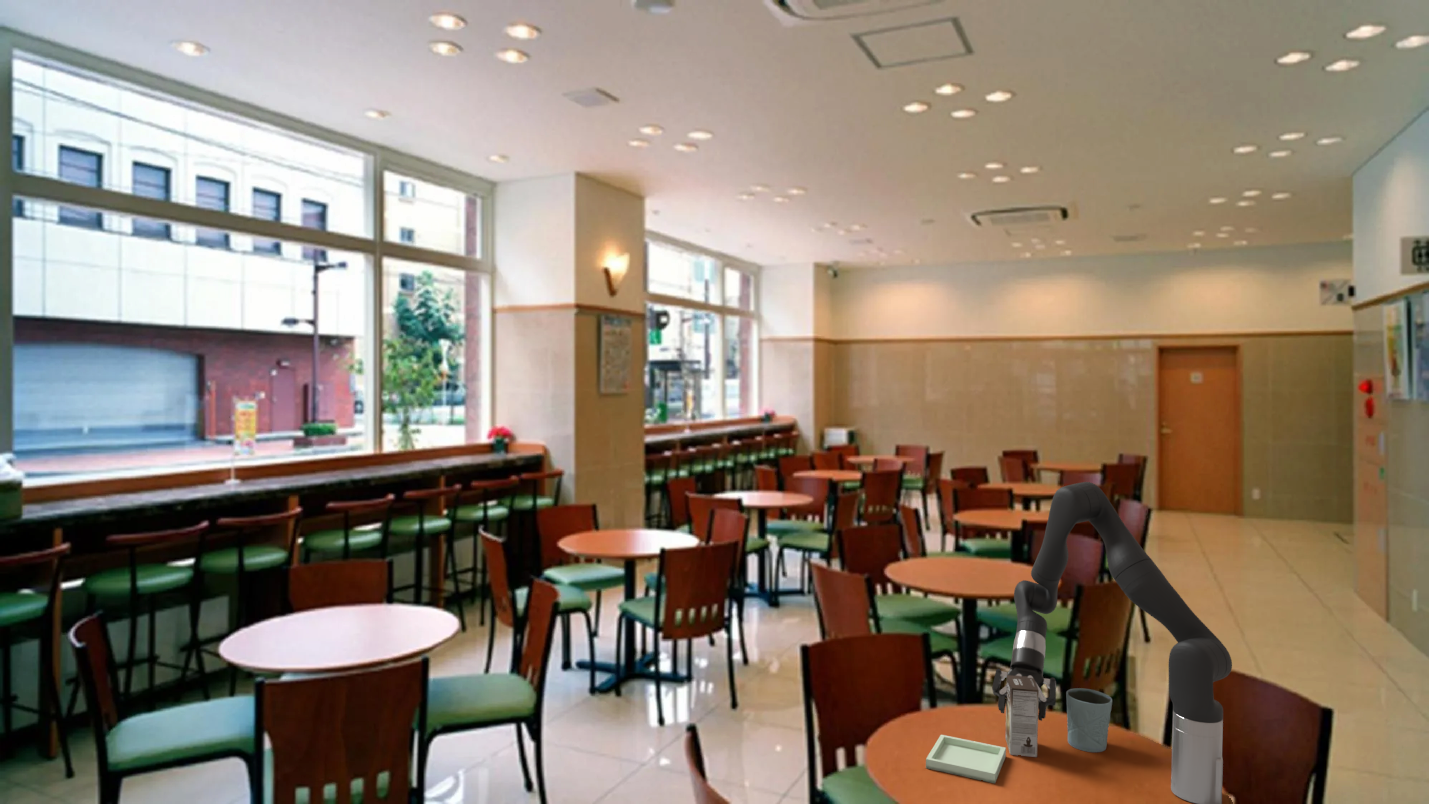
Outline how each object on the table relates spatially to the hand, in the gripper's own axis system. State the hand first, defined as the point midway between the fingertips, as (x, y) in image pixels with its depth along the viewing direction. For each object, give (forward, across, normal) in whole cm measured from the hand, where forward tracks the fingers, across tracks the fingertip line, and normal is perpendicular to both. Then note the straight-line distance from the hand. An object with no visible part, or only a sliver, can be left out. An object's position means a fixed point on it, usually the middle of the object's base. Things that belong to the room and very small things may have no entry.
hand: (1021, 715), depth 200 cm
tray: (+15, -10, -3) cm, 18 cm away
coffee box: (+5, 0, +7) cm, 9 cm away
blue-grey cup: (-2, +14, +14) cm, 20 cm away
